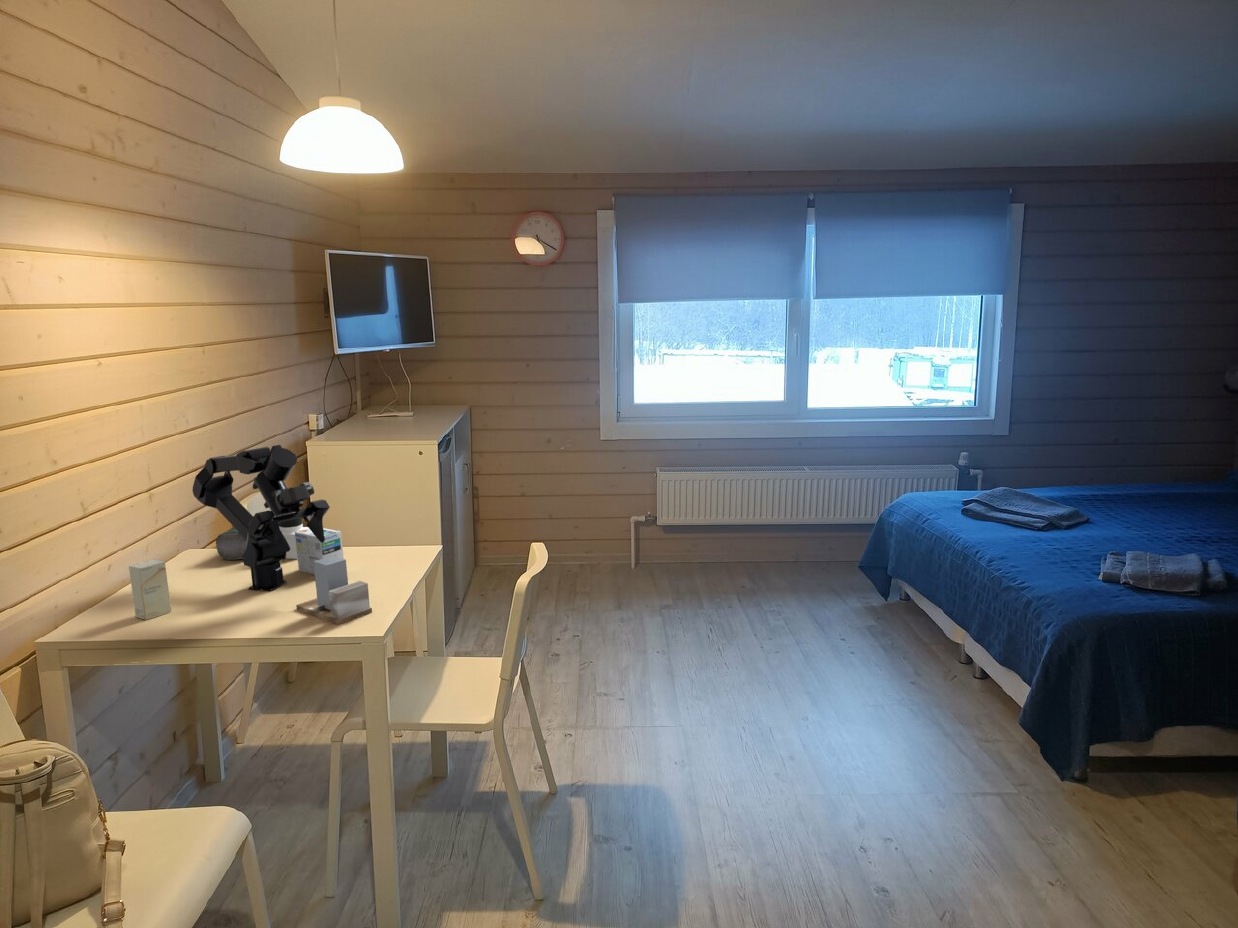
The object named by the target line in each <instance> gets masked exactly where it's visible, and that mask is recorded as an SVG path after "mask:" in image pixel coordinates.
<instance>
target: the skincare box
mask: <svg viewBox="0 0 1238 928" xmlns="http://www.w3.org/2000/svg"><path fill="white" fill-rule="evenodd" d="M128 570H129V578H130V583H131V584H130V585H131V592H132V600H133V606H134V608H133V609H134V615H135V618H138V619H142V620H146V621H147V620H150V619H153V618H157V617H160V616H163V615H166V614H169V613H171V612H172V607H171V599H170V591H169V583H168V576H167V575H168V574H167V568H166V561H164V560H161V559H157V558H153V559H151V560H150V559H149V560H146V561H142V562H139V563H135V564H132V565H128Z"/></svg>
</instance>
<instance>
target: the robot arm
mask: <svg viewBox="0 0 1238 928" xmlns="http://www.w3.org/2000/svg"><path fill="white" fill-rule="evenodd" d="M297 462H298V458H297V455H296V454H295V453H294V452H293V451H291V450H289V449H288V448H283V446H282V444H275V445H272V446H271V448H270V447H268V446H263V447H257V448H251V449H247V450H242V451H239V452H238V453H236V454H235V455H234V454H233V455H219V456H213V457H209V458H208V459H206V461H205V464H204V467H203V468H202V469H201V470H200V471H199V472H198V473H197V474H196V475H195V477H194V481H193V485H192V495H193V497H194V498H196V500H197V501H198V502H200V503H201V504H202V505H203V506H205V507H208V508H209V507H210V508H212V509H216V510H217V511H219V513H220V514H221V515H222V516H223V517H224V518H225V519H226V520H227V521H228V523H230V525H231V526H232V527H233V528H235V529H236V530H237V531H238V532H239V533H240V534H241V535H242V536H243V537H244V538H245V539H246V551H245V553H244V554H243V556H242V559H241V560H242V563H243V564H244V566H246V567H248V568H250V574H251V584H252V585H250V586H249V587H248V590H254V591H268V592H269V591H274V590H276V589H277V588H279V587H280V586H281V587H282V585H284V584H286V583H287V580H286V579H284V574H283V573H284V572H283V567H282V565H281V561H283V560H284V561H285V560H287V559H286V551H287V552H289V551H290V547H289V544H288V542H287V541H286V539H285V537H284V535H283V534H282V532H281V529H280V528H279V523H280V522H285V521H289V520H294V519H298V518H302V519H303V520H304V521H305V522H306V527H309V529H310V530H311V531H312V532H313V534H314V535H315V536H316V538H317V539H318V540H319V541H320V542H321V543H323V542H324V541H325V538H324V531H323V528H324V525H323V524H324V523H323V518H324V516H325V515H326V513H328V511H329V510H330V508H331V506H330V505H329V503H328V502H327V500H326V499H318V500H313V501H310V502H309V503H308V504H307V506H306V507H305V508H301V509H300V507H302V506H303V505H304V502H303V501H305V500H307V499H308V500H309V499H310V498H311V497H310V496H312V495H314V494H315V489H314V486H313V484H311V482H310V481H305V482H303V483H300V484H299V485H298V486H293V487H292V486H291V487H288V486H287V484H286V483H285V481H286V480H287V479H288V478H289V476H291V475H290V474H291V473H292V471H293V469H294V468H295V466H296V465H297ZM234 471H239V473H240V474H243V475H252V474H253V475H254V474H257V473H258V474H257V475H256V477H254V478H253V482H252V483H253V484H252V489H253V490H257V489H258V490H259V492H260V494H261V496H262V497H263V499H264V501H265V502H264V504H263V506H264V508H265V509H269V510H265V511H259V512H256V513H254V515H252V514H251V513H250V511H249V510H247V509H246V507H245V506H244V505H243V504H242V503H240V502H239V500H238V499H237V498H236V497H235V496H234V495H233V484H234V477H233V475H232V473H231V472H234ZM223 472H224V474H223V475H222V474H221V475H217V476H214V475H215V474H218V473H223Z"/></svg>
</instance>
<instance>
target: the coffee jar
mask: <svg viewBox="0 0 1238 928" xmlns="http://www.w3.org/2000/svg"><path fill="white" fill-rule="evenodd" d="M215 548H216V551H217V553H218V555H219V557H221V558H222V559H224V560H229V561H235V560H243V559H242V556H243V554H244V553H245V551H246V539H245V538H244V537H243V536H242V535H241V534H240V533H239V532H238V531H237V530H236V529H235V527H233V528H230V529H229V530H227V531H224V532H222V533H220V534H219V535H217V536H216V539H215Z"/></svg>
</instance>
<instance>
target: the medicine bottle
mask: <svg viewBox="0 0 1238 928" xmlns="http://www.w3.org/2000/svg"><path fill="white" fill-rule="evenodd" d="M279 528H280V530H281V532H282V534H283V535H284V537H285V539H286V541H287V542H288V544H289V547H290V551H289V552H287V551H286V559H285V560H298V557H297V549H296V539H295V532H296V531H299V530H303V529H307V528H309V527H308V526H304V525H303V518H298V519H294V520H289V521H285V522H280V523H279Z"/></svg>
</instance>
